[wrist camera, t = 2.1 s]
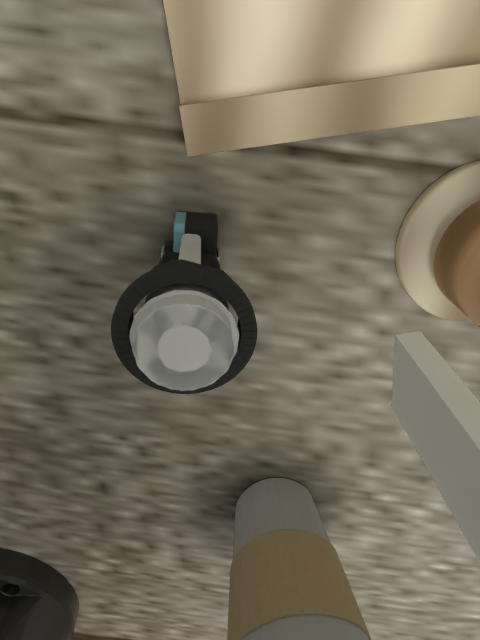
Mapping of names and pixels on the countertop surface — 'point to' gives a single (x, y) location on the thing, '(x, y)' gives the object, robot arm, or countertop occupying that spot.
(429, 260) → the bobbin
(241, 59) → the terminal board
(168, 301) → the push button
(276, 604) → the coffee cup
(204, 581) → the countertop surface
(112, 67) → the countertop surface
